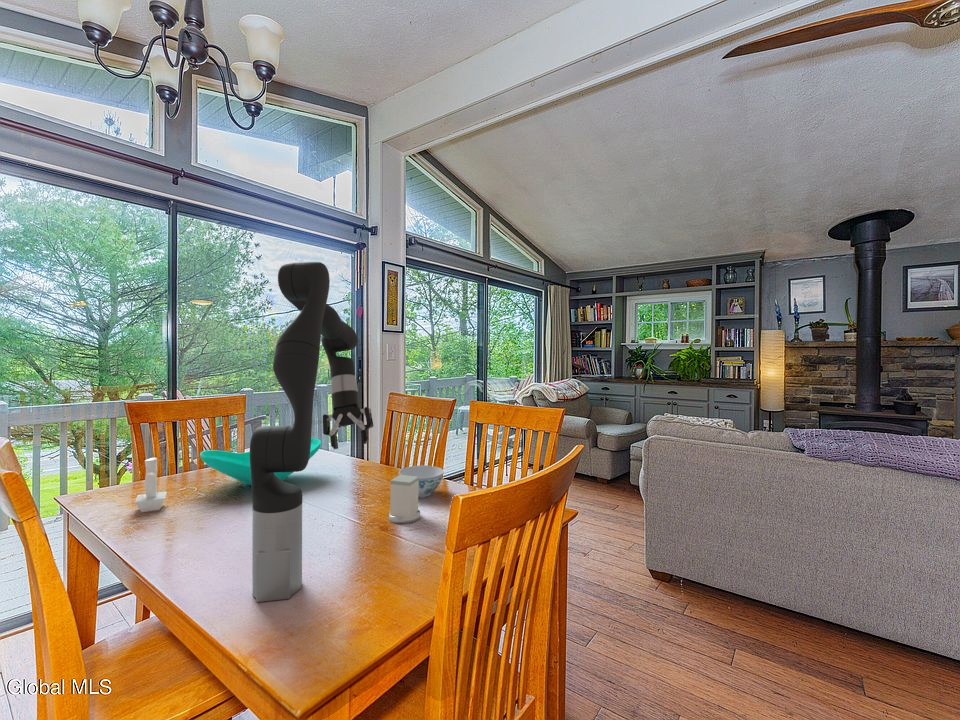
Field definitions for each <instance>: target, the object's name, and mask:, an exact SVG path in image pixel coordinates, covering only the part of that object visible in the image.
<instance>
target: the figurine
mask: <svg viewBox="0 0 960 720" xmlns="http://www.w3.org/2000/svg"><path fill="white" fill-rule="evenodd" d="M144 465H145V476H144V477H145V478H144V491H145V493H143V494H137V496H136V498H135V501H134V503H135V506H137V508H138V509H139V511H140V512H141V513H145V512H155V511H160V510H161V508H162V506H163V504H164V502H165V500H166V497H167V493H168V491H167V490H166V491H158V490H157V487H158V486H157V485H158V483H157V482H158V481H157V479H158V478H157V477H158V476H157V475H158V457H150V458H148V459H147V458H146V459H145V460H144Z"/></svg>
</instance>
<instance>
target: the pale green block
mask: <svg viewBox="0 0 960 720" xmlns="http://www.w3.org/2000/svg"><path fill="white" fill-rule="evenodd" d="M418 482H419V477H416V476H406V475H399V474H398V475H397V476H395V477H394V478H393V479H391V480H390V485H389V486H390V490H389V491H390V492H389V493H390V496H389V497H390V500H389V503H390V505H389V512H390V515H391V516H399V517H407V518H410V517H411V516H412V515H413V514H415V513H416V512H417V511H418V510H419V497H418Z"/></svg>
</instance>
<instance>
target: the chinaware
mask: <svg viewBox="0 0 960 720" xmlns="http://www.w3.org/2000/svg"><path fill="white" fill-rule="evenodd" d="M444 473H445V472H444V470H443V468H441V467H438V466H432V465H412V466H406V467H404V468H401V469H399V471H398V476H399V475H406V476H416V477H419V482H418V498H427V497H429V495H430V496H431V495H432V492H433V491H435V490H436V489H437V488H438V487H440V486H439V485H440V484H441V482H442V480H443V477H444ZM426 496H427V497H426Z"/></svg>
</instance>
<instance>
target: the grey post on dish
mask: <svg viewBox="0 0 960 720" xmlns="http://www.w3.org/2000/svg"><path fill="white" fill-rule="evenodd" d="M420 519H421V511H420V510H419V509H418V511H417V512H416V513H415V514H413V515H412V516H411V517H410V518H407V517H399V516H391V515H390V511H389V512H388V520H389V522H390V523H393V524H396V523H397V525H408V524H407V523H409V524H413V522H414V523H416V522H418V521H419V520H420Z"/></svg>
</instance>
